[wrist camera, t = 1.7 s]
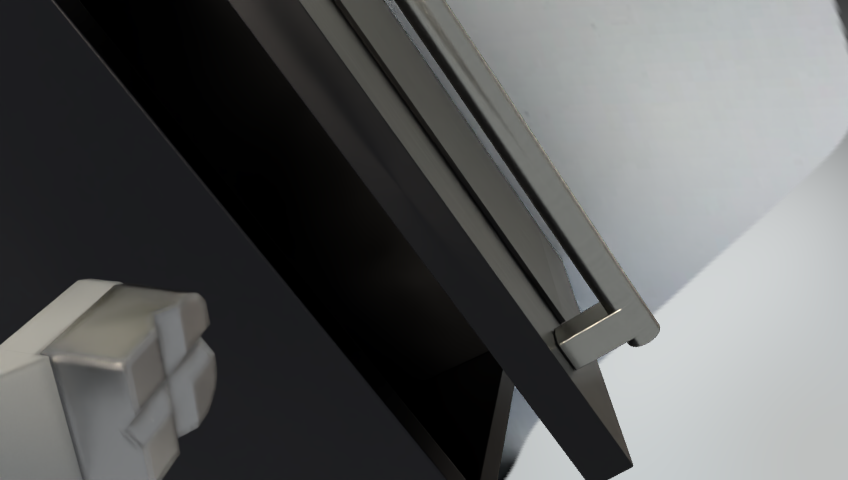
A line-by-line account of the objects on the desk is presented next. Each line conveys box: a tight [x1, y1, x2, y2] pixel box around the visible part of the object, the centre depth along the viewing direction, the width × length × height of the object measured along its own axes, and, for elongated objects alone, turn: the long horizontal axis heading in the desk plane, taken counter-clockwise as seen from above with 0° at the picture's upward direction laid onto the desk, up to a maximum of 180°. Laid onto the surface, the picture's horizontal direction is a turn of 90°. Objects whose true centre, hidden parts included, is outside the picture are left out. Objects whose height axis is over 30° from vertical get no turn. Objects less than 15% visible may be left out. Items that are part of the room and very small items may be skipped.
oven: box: [0, 0, 514, 480], centre depth 35 cm, size 14×24×18 cm, turn 36°
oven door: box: [227, 0, 660, 480], centre depth 30 cm, size 5×24×18 cm, turn 36°
